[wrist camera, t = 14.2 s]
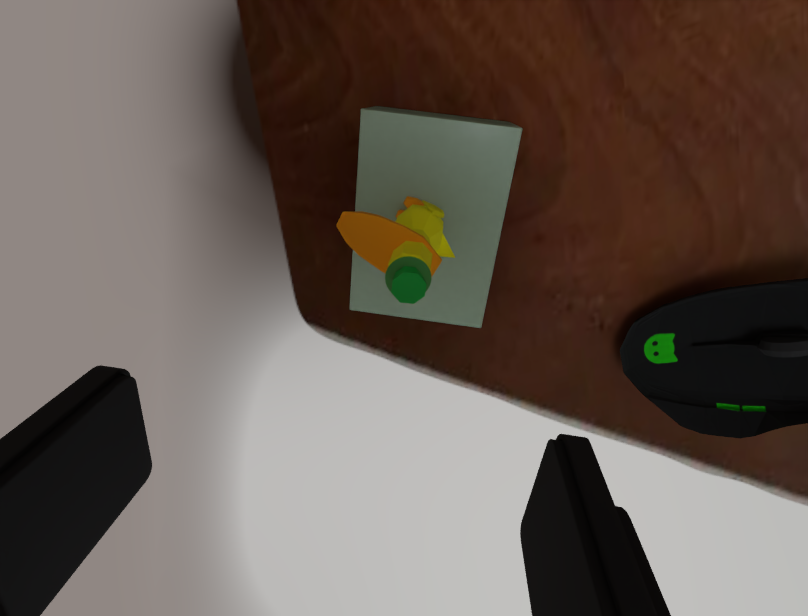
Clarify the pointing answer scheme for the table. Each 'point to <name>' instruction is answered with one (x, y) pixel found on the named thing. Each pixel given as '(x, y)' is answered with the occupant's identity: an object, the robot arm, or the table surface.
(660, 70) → the table surface
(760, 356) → the computer mouse
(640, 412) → the table surface
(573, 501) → the robot arm
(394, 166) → the green box
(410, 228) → the toy figure
